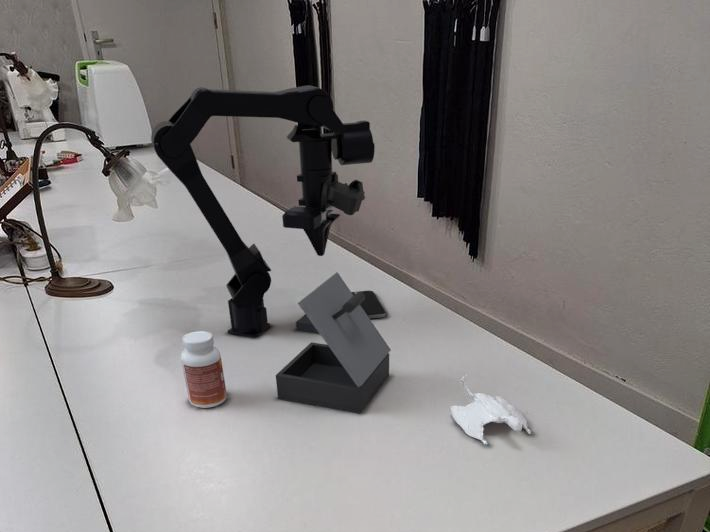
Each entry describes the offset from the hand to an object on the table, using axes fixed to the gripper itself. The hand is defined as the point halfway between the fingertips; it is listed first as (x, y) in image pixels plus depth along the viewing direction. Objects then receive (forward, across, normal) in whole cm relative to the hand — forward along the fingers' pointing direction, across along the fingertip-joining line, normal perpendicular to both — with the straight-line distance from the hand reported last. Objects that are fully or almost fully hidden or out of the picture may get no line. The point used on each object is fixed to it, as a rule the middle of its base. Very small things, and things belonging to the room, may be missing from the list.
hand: (320, 255), depth 127 cm
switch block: (+13, -3, -2) cm, 13 cm away
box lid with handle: (+2, -27, -16) cm, 32 cm away
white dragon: (+13, -29, -40) cm, 51 cm away
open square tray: (+13, -27, -14) cm, 33 cm away
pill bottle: (+13, -38, +4) cm, 40 cm away
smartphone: (+13, +9, -5) cm, 17 cm away
